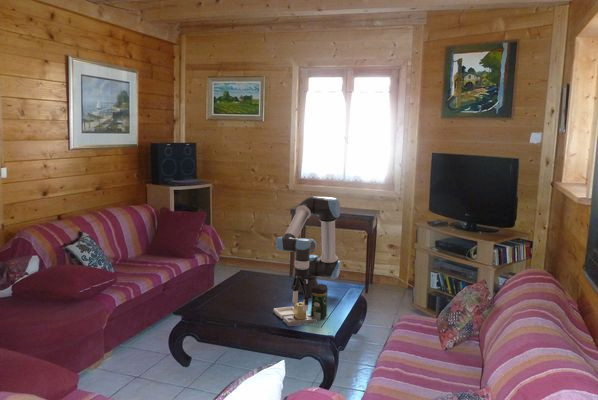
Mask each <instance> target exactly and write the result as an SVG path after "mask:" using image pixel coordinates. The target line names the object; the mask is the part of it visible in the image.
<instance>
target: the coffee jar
mask: <svg viewBox="0 0 598 400" xmlns="http://www.w3.org/2000/svg"><path fill="white" fill-rule="evenodd" d="M327 308H328V286H327V285H326V284H323V283H318V285H316V286H314V287H312V294H311V309H310V314H311V315H312V316H314V317H315V318H316V321H322V320H323V321H324V319H326V318H327V316H328V315H327V314H328V309H327Z"/></svg>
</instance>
